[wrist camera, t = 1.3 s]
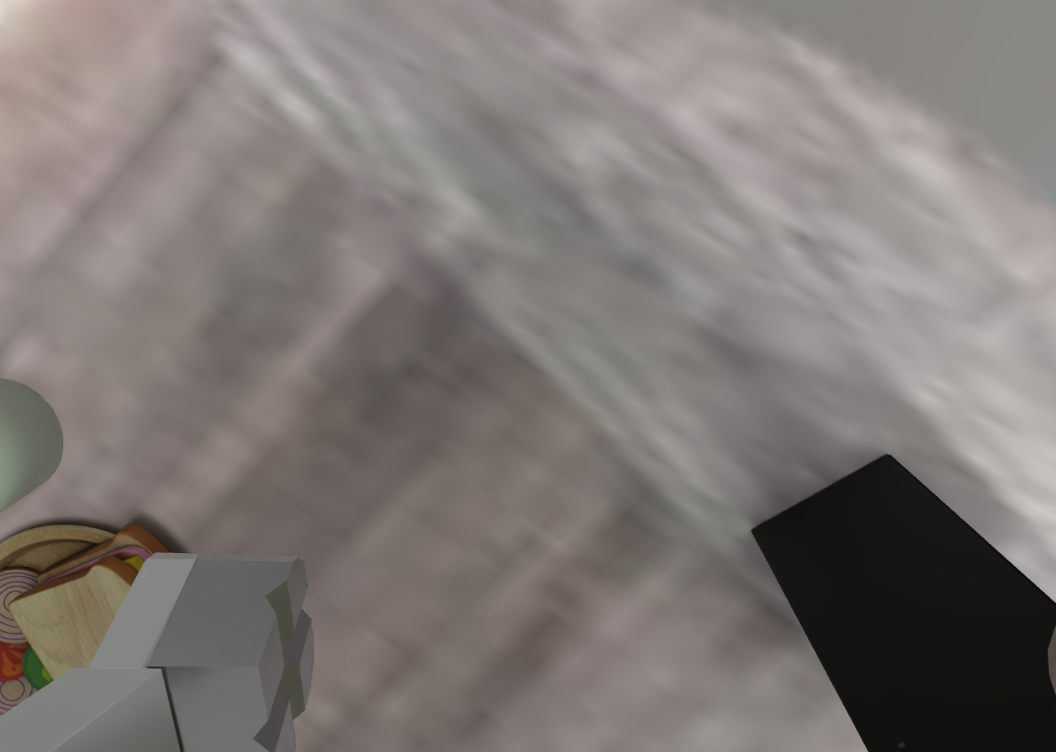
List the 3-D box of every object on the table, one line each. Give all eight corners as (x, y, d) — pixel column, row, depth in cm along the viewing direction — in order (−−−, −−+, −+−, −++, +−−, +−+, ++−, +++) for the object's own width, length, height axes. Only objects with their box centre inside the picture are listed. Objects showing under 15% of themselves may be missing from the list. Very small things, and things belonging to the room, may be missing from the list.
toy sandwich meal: (-69, 551, 49) (-132, 593, 45) (173, 483, 48) (134, 519, 44) (27, 756, 52) (-24, 815, 47) (258, 696, 51) (229, 751, 46)
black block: (747, 528, 48) (1013, 1030, 21) (888, 449, 47) (1364, 871, 20) (821, 648, 49) (1159, 1266, 22) (960, 575, 48) (1495, 1131, 21)
